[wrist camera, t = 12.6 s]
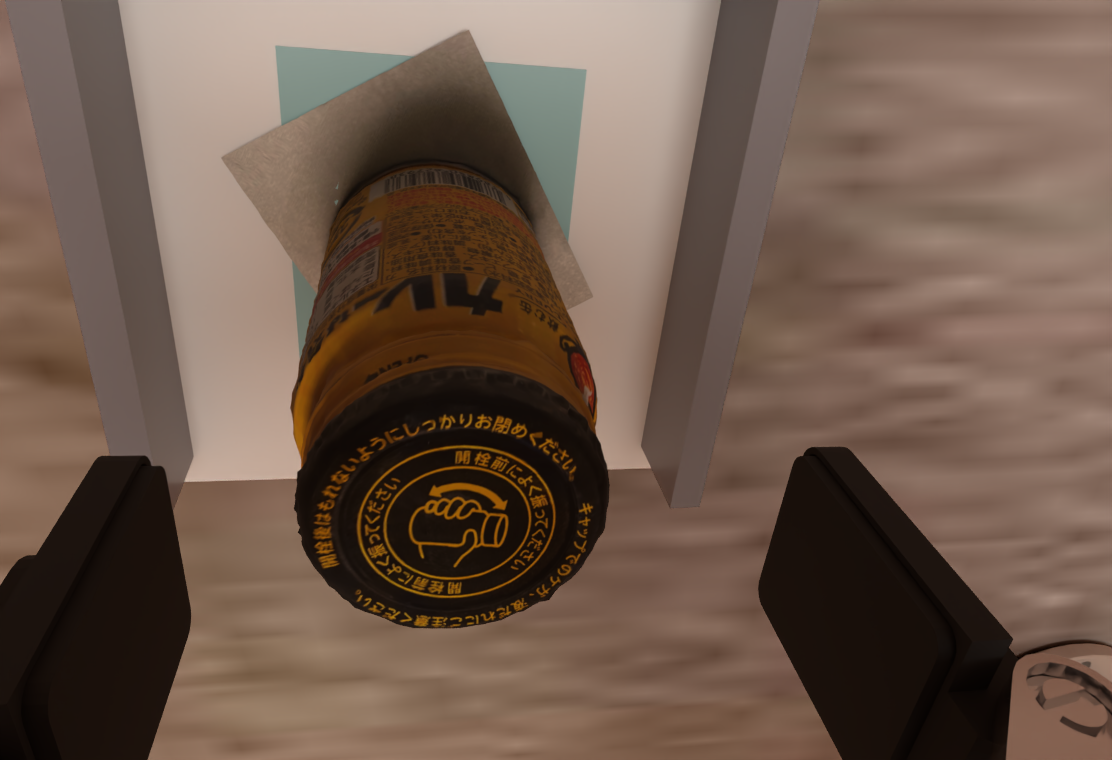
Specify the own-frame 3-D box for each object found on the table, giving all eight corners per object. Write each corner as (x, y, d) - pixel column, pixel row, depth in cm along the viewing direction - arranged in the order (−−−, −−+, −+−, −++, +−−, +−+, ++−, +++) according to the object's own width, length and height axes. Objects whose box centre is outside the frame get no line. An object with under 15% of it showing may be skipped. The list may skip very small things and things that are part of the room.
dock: (656, 429, 31) (707, 530, 26) (167, 439, 27) (114, 558, 22) (757, -100, 22) (866, -109, 17) (52, -191, 18) (-82, -236, 13)
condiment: (388, 393, 25) (381, 719, 15) (221, 155, 20) (44, 386, 10) (592, 294, 24) (733, 559, 14) (468, 27, 20) (543, 134, 10)
